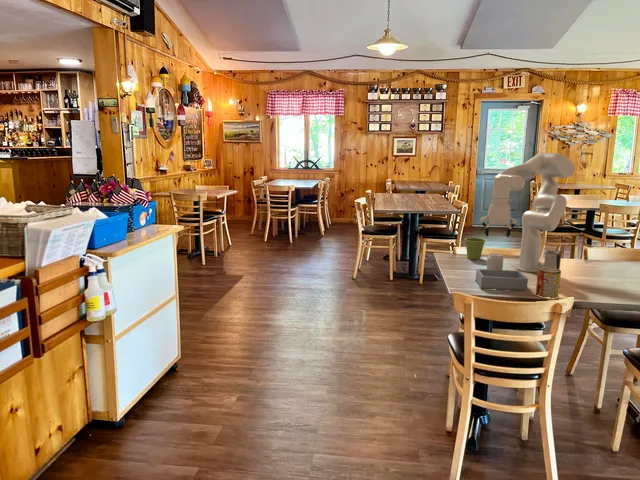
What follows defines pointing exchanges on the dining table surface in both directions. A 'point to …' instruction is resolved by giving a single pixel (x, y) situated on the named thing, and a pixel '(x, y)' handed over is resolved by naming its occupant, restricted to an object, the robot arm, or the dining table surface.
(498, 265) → the can
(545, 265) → the coffee box
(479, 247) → the plant pot
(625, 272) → the dining table surface
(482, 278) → the bin
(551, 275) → the beverage can
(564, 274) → the dining table surface
